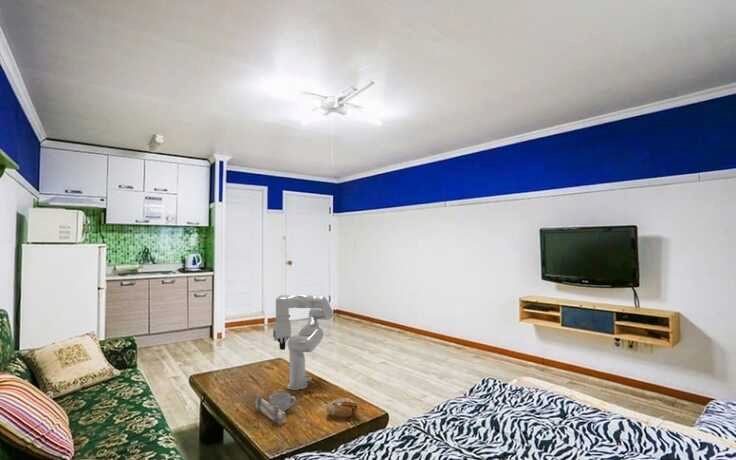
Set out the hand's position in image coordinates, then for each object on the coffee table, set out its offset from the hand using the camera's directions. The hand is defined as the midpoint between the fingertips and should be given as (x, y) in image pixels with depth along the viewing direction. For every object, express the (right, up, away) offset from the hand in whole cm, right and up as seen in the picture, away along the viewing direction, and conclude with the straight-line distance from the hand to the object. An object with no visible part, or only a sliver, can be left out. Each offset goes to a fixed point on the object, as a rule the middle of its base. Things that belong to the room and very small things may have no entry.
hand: (282, 349), depth 220 cm
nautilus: (+39, -26, -29) cm, 55 cm away
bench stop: (0, -26, -26) cm, 37 cm away
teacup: (+5, -26, -21) cm, 34 cm away
